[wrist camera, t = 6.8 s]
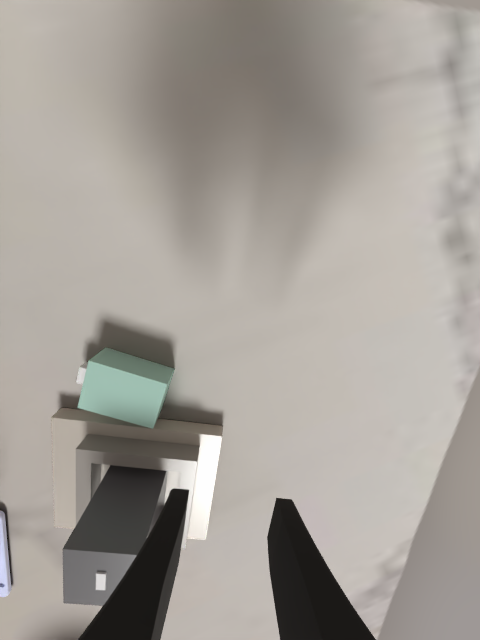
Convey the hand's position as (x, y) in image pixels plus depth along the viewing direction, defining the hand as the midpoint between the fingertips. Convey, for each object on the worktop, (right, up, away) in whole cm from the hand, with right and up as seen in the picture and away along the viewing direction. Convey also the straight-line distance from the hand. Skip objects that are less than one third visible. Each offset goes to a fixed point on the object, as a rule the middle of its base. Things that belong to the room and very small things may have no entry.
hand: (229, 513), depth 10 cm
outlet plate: (-8, -4, +11) cm, 14 cm away
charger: (-7, -5, +9) cm, 13 cm away
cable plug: (-7, +3, +9) cm, 12 cm away
